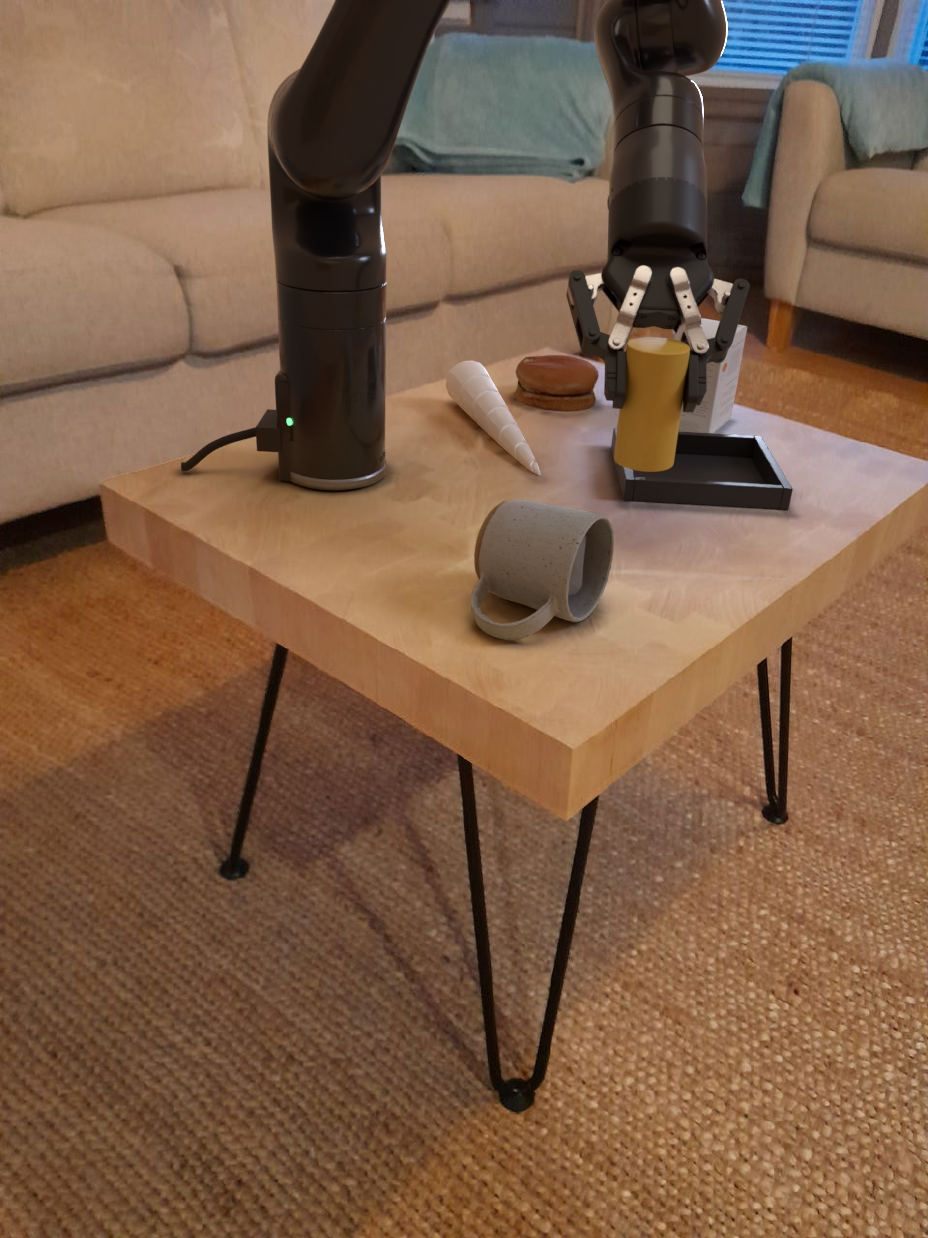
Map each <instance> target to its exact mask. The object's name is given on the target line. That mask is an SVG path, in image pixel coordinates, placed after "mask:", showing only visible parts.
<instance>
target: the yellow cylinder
mask: <svg viewBox="0 0 928 1238" xmlns="http://www.w3.org/2000/svg"><path fill="white" fill-rule="evenodd" d="M625 351H626V354H627V367H626V397H625V402H624V405H623V408H622V409H619V410H618V418H617V425H616V426H617V427H616V428H617V435H616V443H615V452H614V458H613V461H614V460H615V462H616V463H618V464H619V465H621V466H623V467H625V468H628V469H632V470H636V471H644V472H657V471H663V470H667V469H669V468H671V467H672V466H673V464H674V458H675V451H676V444H677V437H678V430H679V423H680V417H681V410H682V403H683V396H684V389H685V382H686V375H687V368H688V361H689V355H690V347H689V346H688V345H687V344H685V343H683V342H680V341H677V340H673V339H672V338H667V337H657V336H644V337H643V336H642V337H635V338H632V339H629V340H628V342H627V344H626V346H625ZM615 462H614V463H615Z"/></svg>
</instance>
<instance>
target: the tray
mask: <svg viewBox="0 0 928 1238" xmlns="http://www.w3.org/2000/svg"><path fill="white" fill-rule="evenodd" d="M616 435H617V427H613V429H612V435H611V436H612V437H611V444H610V445H611V446H610V449H611V453H612V458H613V462H614V466H615V471H616V475H617V476H616V477H617V480H618V485H619V488H620V493H621V497H622V501H623V502H635V503H650V504H651V503H652V504H670V505H687V506H704V507H720V508H737V509H738V508H739V509H756V510H774V511H789V508H790V504H791V499H792V496H793V490H794V488H793V487H792V485H791V484H790V482H789V480H788V479H787V477H786V475H785V474H784V472H783V470H782V468H781V467H780V465H779V464H778V462H777V460H776V459H775V457H774V455H773V454H772V452H771V450H770V449H769V447H768V445H767V443H766V442H765V440H764V438H763V437H762V436H761V435H750V434H749V435H745V434H733V433H730V434H729V433H715V432H714V433H697V432H679V431H678V437H677V444H676V451H675V458H674V464H673V466H672V467H671V468H669V469H667V470H663V471H657V472H644V471H636V470H632V469H628V468H625V467H623V466H621V465H619V464H618V463H616V462H615V460H614V452H615V443H616Z"/></svg>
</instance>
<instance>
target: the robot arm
mask: <svg viewBox="0 0 928 1238" xmlns="http://www.w3.org/2000/svg"><path fill="white" fill-rule="evenodd" d="M452 1H453V0H334V2H333V4H332V6H331V8H330V10H329V12H328V14H327V16H326V18H325V20H324V23H323V24H322V26H321V29H320V31H319V32H318V34H317V36H316V38H315V41H314V43H313V44H312V47H311V48H310V49H309V52H308V54H307V55H306V58H305V60H303V63H302V64H301V66H300V68H299V69H296V70H295V71H293V72H292V73H290V74H288V76H287V77H285V78H284V80H282V81H281V83H280V84H279V85H278V87H277V88H276V89H275V92H274V94H273V95H272V97H271V101H270V104H269V108H268V113H267V124H266V127H267V129H266V132H267V157H268V159H267V161H268V175H269V195H270V196H269V197H270V215H271V234H272V243H273V244H272V245H273V254H274V266H275V281H276V282H275V283H276V302H277V303H276V305H277V322H278V323H277V326H278V327H277V328H278V329H277V330H278V331H277V332H278V351H279V352H278V353H279V354H278V355H279V356H278V357H279V370H278V371H277V373H276V374H275V376H274V396H275V409H271V408H269V409H266V411H265V412H264V413H263V415H262V417H261V418H260V420H259V421H258V423H257V424H256V426H255V427H252V428H248V429H243V430H240V431H237V432H233V433H229V434H227V435H224V436H222V437H219V438H216V439H214V440H212V441H210V442H209V443H207V444H206V445H204V446H203V447H202V448H201V449H200V450H198V451H197V452H195V454H194V455H192V457H190V458H189V459H187V460H186V461H181V462H180V470H181V472H188V471H190V470H192V469H194V468H195V467H196V466H197V465H198V464H199V463H200V462H202V461H203V460H204V459H205V458H206V457H207V456H209V455H210V454H212V453H213V452H215V451H216V450H219V449H220V448H223V447H226V446H227V445H230V444H234V443H237V442H242V441H244V440H248V439H252V438H255V441H256V451H257V452H264V453H265V452H267V453H277V461H278V463H277V464H278V480H279V481H280V482H281V481H282V482H290V483H294V484H296V485H298V486H301V487H305V488H309V489H316V490H323V491H324V490H325V491H346V490H354V489H360V488H364V487H365V488H366V487H368V486H371V485H374V484H376V483H378V482H379V481H381V480H382V479H384V477H385V475H386V473H387V459H386V455H387V454H386V451H387V450H386V393H387V391H386V388H387V387H386V386H387V385H386V382H387V379H386V378H387V371H386V370H387V248H386V242H385V237H384V228H383V217H382V174H383V172H384V171H385V169H386V167H387V166H388V163H389V160H390V158H391V156H392V153H393V150H394V146H395V144H396V141H397V137H398V134H399V132H400V129H401V125H402V123H403V119H404V116H405V113H406V110H407V107H408V104H409V102H410V98H411V96H412V94H413V93H412V92H413V90H414V87H415V84H416V81H417V79H418V76H419V73H420V70H421V67H422V64H423V62H424V59H425V56H426V54H427V52H428V49H429V47H430V44H431V41H432V39H433V38H434V35H435V33H436V30H437V29H438V27H439V25H440V22H441V21H442V19H443V16H444V15H445V13H446V11H447V10H448V8H449V6H450V4H451V2H452ZM727 38H728V21H727V14H726V11H725V7H724V4H723V0H606V1H605V2H604V3H603V5H602V6H601V8H600V9H599V12H598V13H597V15H596V18H595V22H594V29H593V40H594V47H595V52H596V55H597V58H598V62H599V64H600V68H601V71H602V74H603V76H604V79H605V83H606V85H607V88H608V92H609V95H610V100H611V105H612V112H613V146H612V149H613V150H612V153H613V154H612V166H611V170H610V174H609V187H608V190H609V191H608V197H607V201H606V202H607V210H608V215H607V216H608V218H607V219H608V220H607V222H608V223H607V256H606V260H607V261H606V264H605V265H604V266H603V268H602V270H601V272H598V273H593V274H587V275H585V273H584V272H583V271H582V270H579V269H576V270H573V271H571V272H570V273H569V276H568V282H567V289H566V295H565V296H566V299H567V303H568V308H569V311H570V314H571V318H572V323H573V325H574V330H575V334H576V336H577V340H578V345H579V348H580V351H581V354H582V355H583V356H585V357H593V356H594V357H597V358H599V359H601V360H602V361H603V363H604V383H603V384H604V386H603V395H604V397H605V400H606V402H607V401H610V402H612V409H622V408H623V405H624V402H625V397H626V367H627V354H626V347H627V343H628V341H630V337H631V336H632V333H633V330H634V329H647V328H652V327H656V328H659V329H662V330H671V333H673V336H674V338H675V340H677V341H680V342H683V343H685V344H687V345H688V346H689V347H690V355H689V361H688V368H687V375H686V382H685V389H684V396H683V412H692V413H693V412H694V409H695V407H696V405H700V404H701V402H702V400H703V398H704V395H705V393H706V391H707V384H706V383H707V379H706V378H707V363H710V362H714V363H721V362H723V361H724V360H725V358H726V355H727V352H728V350H729V348H730V347H731V345H732V343H733V339H734V336H735V333H736V330H737V326H738V325H739V323H740V319H741V316H742V313H743V309H744V306H745V303H746V299H747V295H748V293H749V289H750V283H749V280H747V279H745V278H742V277H741V278H736V279H735V280H734V281H733V283H732V282H729V281H725V280H722V279H719V278H715V275H714V272H713V270H712V269H711V267H710V265H709V263H708V262H709V261H708V178H707V177H708V176H707V167H706V161H705V153H704V102H703V96H702V93H701V90H700V89H699V87H698V85H697V84H696V83H695V82H694V81H693V80H691V79H690V78H689V76H695V75H699V74H703V73H705V72H707V71H709V70H711V69H713V68H714V66H715V65H717V63H718V62H719V60H720V58H721V57H722V54H723V52H724V49H725V47H726V43H727ZM600 291H602V292H603V294H604V295H605V296H606V298H607V299H608V300H609V302H610V303H611V304H612V305H613V307H614V308H615V309H616V311H617V312H618V315H617V318H616V320H615V323H614V325H613V328H612V330H611V333H610V334H607V333H605V332H602V331H601V328H600V325H599V321H598V317H597V315H596V309H595V306H594V305H595V304H596V302H597V299H598V293H599V292H600ZM708 296H710V297H711V298H712V299H713V300H714V309H715V311H716V312H717V313H718V314H721V316H720V319H719V321H720V322H719V325H718V329H717V332H716V335H715V337H714V338H710V339H706V336H705V334H704V331H703V328H702V325H701V318H702V316H701V313H700V310H699V307H700V305H702V303H703V302H704V301H705V300H706V299H707V297H708Z"/></svg>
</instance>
